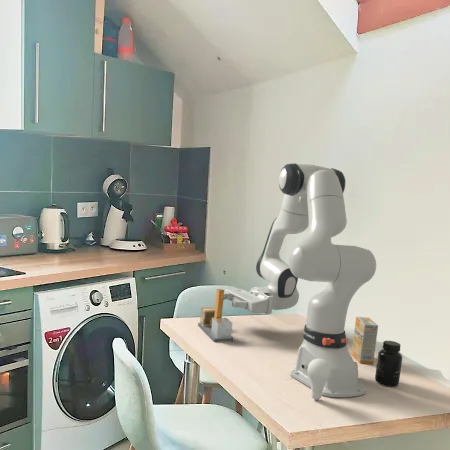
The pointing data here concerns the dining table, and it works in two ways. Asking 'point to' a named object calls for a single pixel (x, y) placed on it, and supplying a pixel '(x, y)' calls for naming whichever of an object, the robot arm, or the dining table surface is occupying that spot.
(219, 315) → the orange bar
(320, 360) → the lightbulb
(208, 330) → the slate board
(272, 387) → the dining table surface
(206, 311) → the socket block
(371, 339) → the supplement box
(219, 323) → the matte gray cube
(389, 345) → the supplement bottle
